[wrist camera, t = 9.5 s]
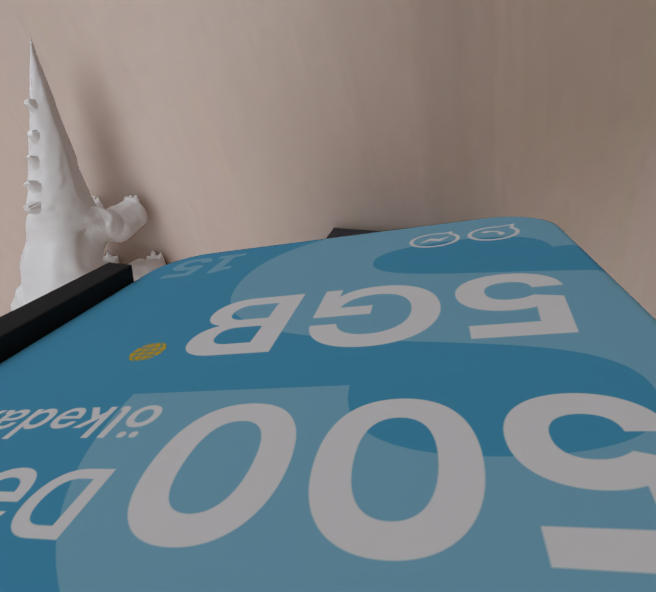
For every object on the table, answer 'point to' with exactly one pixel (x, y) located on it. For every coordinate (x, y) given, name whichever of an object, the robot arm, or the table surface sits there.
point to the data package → (341, 423)
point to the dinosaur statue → (66, 207)
